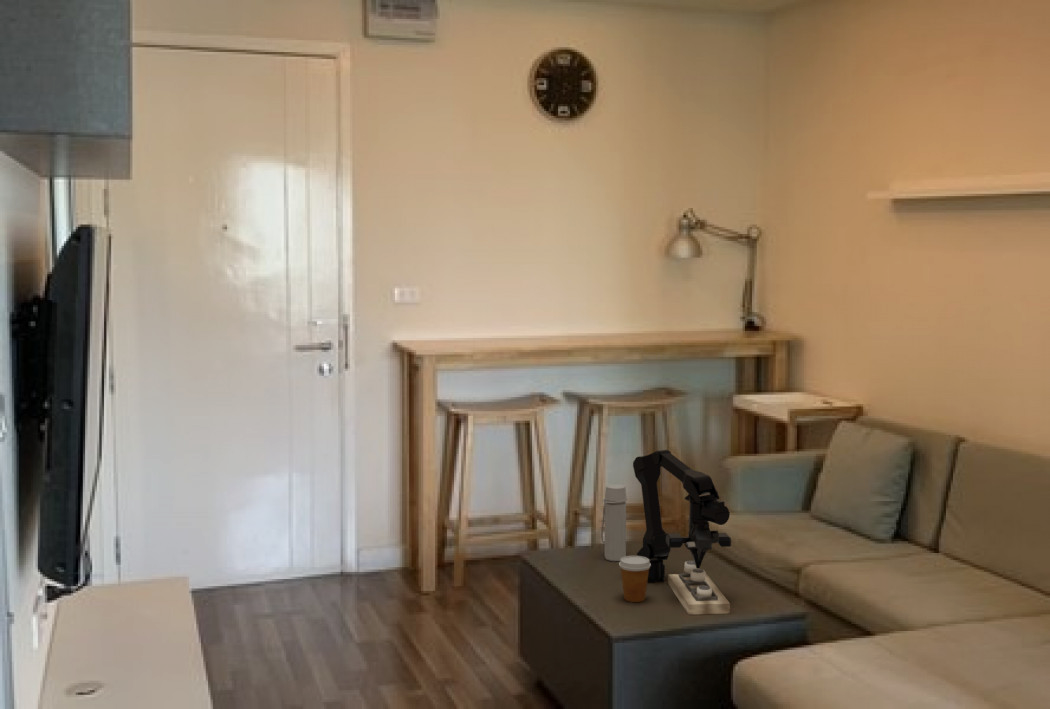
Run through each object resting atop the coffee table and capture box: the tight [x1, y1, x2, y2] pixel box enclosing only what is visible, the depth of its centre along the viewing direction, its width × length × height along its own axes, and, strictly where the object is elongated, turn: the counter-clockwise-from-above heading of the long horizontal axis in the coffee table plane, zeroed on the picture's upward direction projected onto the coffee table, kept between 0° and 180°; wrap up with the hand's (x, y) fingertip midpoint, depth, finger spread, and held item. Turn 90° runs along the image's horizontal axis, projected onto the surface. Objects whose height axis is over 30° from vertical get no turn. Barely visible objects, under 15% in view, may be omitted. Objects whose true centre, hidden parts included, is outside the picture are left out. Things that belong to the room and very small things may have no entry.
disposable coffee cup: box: [618, 555, 651, 603], centre depth 321 cm, size 10×10×12 cm
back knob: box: [684, 560, 700, 574], centre depth 329 cm, size 4×4×3 cm
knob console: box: [667, 572, 731, 616], centre depth 321 cm, size 12×28×4 cm, turn 4°
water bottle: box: [600, 483, 627, 562], centre depth 361 cm, size 9×8×25 cm
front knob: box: [697, 585, 712, 597], centre depth 313 cm, size 4×4×3 cm
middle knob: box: [690, 568, 706, 582], centre depth 321 cm, size 4×4×3 cm
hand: (697, 567), depth 321 cm, fingers closed
